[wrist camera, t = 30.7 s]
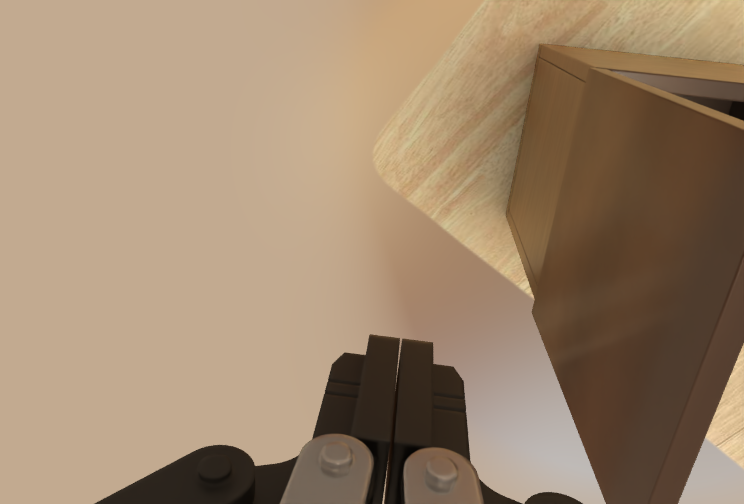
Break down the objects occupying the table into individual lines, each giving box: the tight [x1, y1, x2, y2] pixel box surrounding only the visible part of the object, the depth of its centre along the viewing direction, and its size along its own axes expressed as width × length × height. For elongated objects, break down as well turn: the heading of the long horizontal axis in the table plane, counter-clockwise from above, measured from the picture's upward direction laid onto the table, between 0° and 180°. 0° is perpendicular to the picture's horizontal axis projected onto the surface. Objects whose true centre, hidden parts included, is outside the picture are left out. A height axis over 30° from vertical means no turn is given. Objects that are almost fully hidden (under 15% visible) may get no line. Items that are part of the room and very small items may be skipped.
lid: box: [532, 67, 744, 504], centre depth 21 cm, size 14×12×1 cm
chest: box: [506, 44, 744, 298], centre depth 34 cm, size 14×12×14 cm
